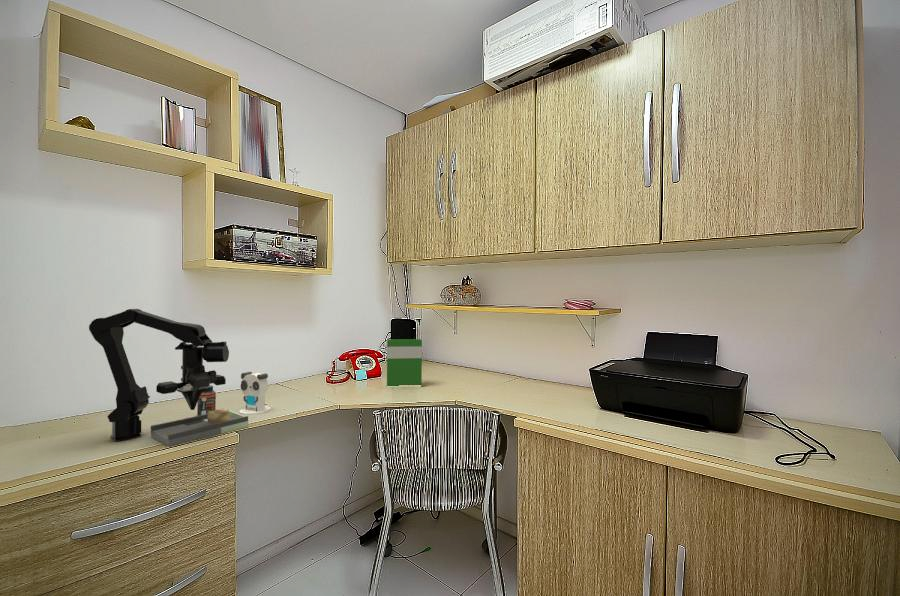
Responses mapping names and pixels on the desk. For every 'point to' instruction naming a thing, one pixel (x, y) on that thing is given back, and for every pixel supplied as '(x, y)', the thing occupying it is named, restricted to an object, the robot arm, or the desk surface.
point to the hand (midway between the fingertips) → (192, 409)
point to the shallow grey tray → (195, 428)
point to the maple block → (218, 416)
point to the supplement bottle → (206, 401)
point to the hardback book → (404, 362)
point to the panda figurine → (254, 392)
